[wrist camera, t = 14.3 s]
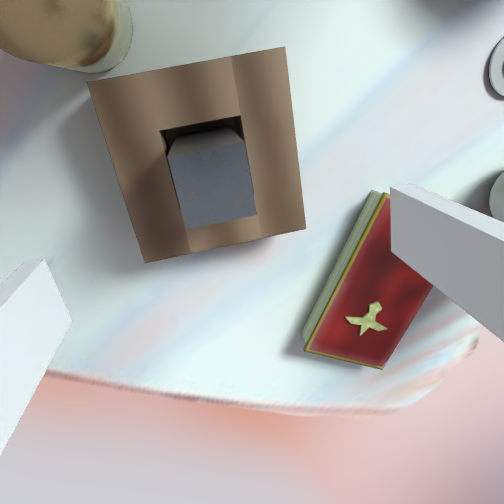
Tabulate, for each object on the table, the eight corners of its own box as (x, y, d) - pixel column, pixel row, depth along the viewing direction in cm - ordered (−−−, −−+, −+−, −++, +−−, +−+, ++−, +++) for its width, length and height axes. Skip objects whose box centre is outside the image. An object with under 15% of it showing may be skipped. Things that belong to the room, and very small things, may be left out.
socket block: (271, 53, 36) (285, 46, 30) (291, 211, 42) (306, 228, 37) (103, 84, 35) (86, 82, 29) (151, 240, 41) (144, 263, 36)
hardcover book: (450, 216, 46) (473, 228, 42) (371, 351, 53) (385, 371, 49) (368, 184, 43) (386, 193, 39) (296, 332, 49) (304, 352, 46)
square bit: (227, 124, 37) (244, 141, 24) (236, 174, 39) (257, 214, 26) (176, 134, 36) (167, 156, 23) (188, 184, 38) (186, 229, 26)
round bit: (116, -41, 31) (74, -114, 20) (143, 64, 34) (119, 50, 23) (19, -25, 31) (-78, -92, 20) (56, 80, 34) (-10, 73, 23)
